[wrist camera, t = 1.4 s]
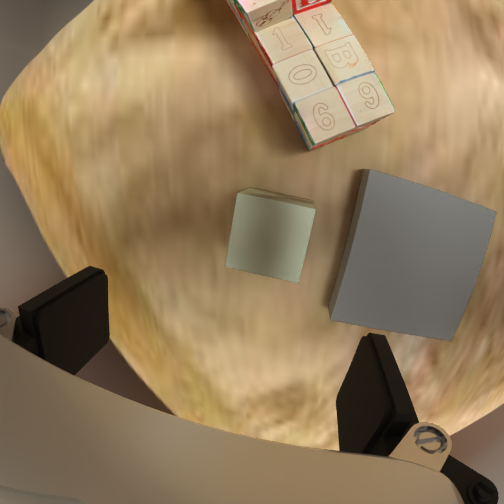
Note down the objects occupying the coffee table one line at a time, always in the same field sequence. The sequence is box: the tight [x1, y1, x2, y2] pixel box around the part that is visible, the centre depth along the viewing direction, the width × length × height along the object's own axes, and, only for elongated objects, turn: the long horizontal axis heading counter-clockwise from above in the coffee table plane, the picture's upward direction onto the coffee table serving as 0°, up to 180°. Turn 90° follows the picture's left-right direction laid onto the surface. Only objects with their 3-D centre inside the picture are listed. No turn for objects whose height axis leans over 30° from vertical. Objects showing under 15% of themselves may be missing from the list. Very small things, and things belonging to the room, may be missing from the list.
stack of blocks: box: [226, 0, 395, 151], centre depth 19 cm, size 21×6×12 cm, turn 25°
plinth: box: [328, 169, 496, 341], centre depth 27 cm, size 14×14×3 cm
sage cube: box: [225, 188, 316, 283], centre depth 27 cm, size 6×6×6 cm
